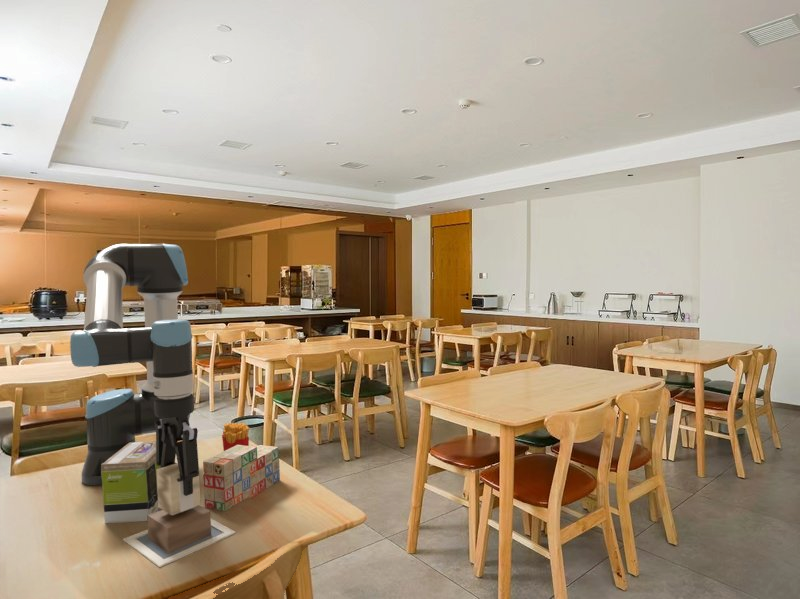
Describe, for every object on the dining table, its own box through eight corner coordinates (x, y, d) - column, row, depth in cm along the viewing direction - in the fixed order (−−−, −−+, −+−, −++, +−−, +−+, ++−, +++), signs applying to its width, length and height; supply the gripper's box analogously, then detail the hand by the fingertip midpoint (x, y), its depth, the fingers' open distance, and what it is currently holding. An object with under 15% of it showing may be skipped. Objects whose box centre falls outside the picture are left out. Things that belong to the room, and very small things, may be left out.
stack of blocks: (261, 477, 140) (259, 433, 140) (280, 480, 138) (279, 435, 137) (204, 511, 121) (202, 460, 120) (225, 516, 118) (223, 463, 118)
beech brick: (158, 507, 106) (156, 469, 106) (185, 496, 111) (184, 460, 110) (172, 515, 102) (170, 476, 102) (200, 504, 107) (198, 467, 107)
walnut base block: (148, 538, 106) (147, 515, 106) (189, 521, 113) (188, 499, 113) (168, 553, 101) (167, 528, 100) (211, 534, 107) (210, 511, 107)
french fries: (220, 468, 147) (218, 424, 146) (231, 463, 151) (230, 420, 150) (242, 474, 142) (241, 428, 142) (254, 469, 146) (252, 424, 145)
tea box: (132, 498, 128) (129, 440, 127) (173, 496, 129) (171, 438, 128) (103, 528, 113) (99, 462, 112) (150, 525, 114) (147, 460, 113)
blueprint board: (123, 544, 106) (123, 538, 106) (196, 515, 118) (196, 510, 118) (159, 572, 96) (159, 566, 96) (235, 537, 108) (235, 531, 108)
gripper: (135, 392, 109) (140, 498, 110) (178, 405, 96) (183, 525, 98) (170, 385, 114) (174, 487, 115) (215, 397, 102) (219, 511, 103)
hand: (178, 504), depth 107 cm, fingers closed on beech brick, 6 cm apart
